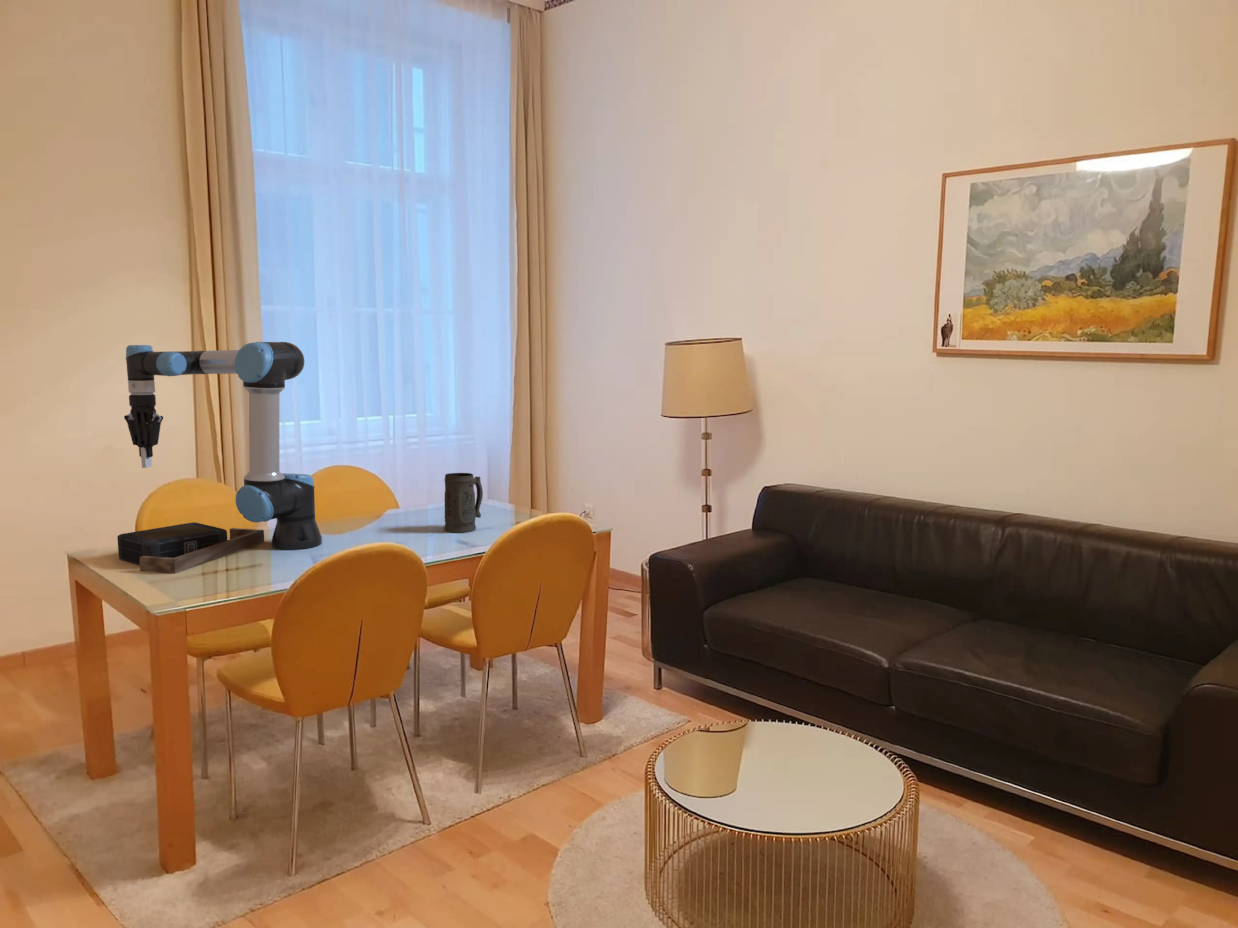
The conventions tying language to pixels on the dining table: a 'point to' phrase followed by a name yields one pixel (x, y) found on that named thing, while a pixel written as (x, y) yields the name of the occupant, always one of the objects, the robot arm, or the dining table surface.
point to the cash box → (168, 541)
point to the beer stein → (461, 502)
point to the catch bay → (204, 552)
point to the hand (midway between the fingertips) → (146, 467)
